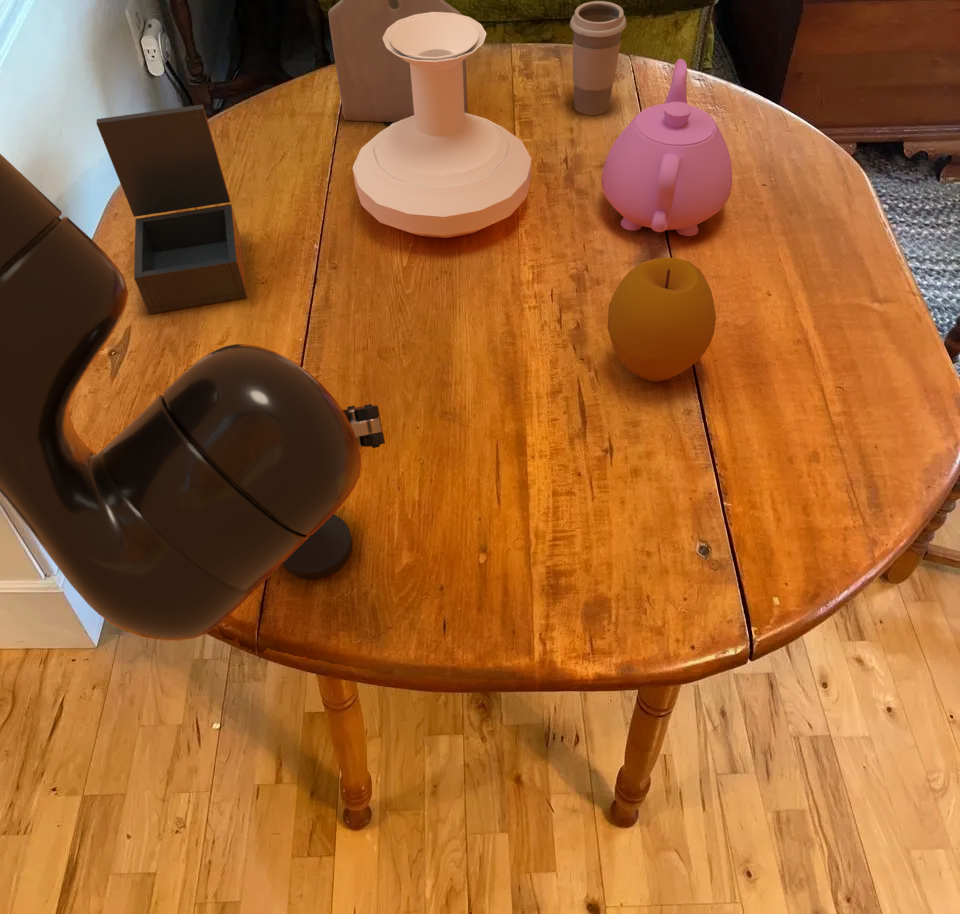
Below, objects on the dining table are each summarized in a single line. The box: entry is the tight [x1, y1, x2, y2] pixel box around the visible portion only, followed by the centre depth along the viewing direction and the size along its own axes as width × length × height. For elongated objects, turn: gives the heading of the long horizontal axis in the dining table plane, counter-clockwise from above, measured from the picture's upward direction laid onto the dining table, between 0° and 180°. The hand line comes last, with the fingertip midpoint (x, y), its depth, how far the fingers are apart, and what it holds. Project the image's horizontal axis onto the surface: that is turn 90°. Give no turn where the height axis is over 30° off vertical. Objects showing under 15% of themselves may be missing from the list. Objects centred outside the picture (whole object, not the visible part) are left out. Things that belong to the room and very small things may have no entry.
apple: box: [607, 257, 717, 383], centre depth 79 cm, size 10×10×12 cm
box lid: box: [96, 104, 231, 218], centre depth 89 cm, size 11×10×1 cm
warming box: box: [133, 203, 248, 315], centre depth 92 cm, size 10×10×5 cm
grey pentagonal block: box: [327, 0, 469, 124], centre depth 107 cm, size 16×8×19 cm, turn 83°
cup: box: [569, 0, 627, 116], centre depth 109 cm, size 7×7×12 cm
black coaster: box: [281, 513, 353, 580], centre depth 71 cm, size 6×6×1 cm
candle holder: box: [351, 12, 533, 239], centre depth 94 cm, size 20×20×19 cm
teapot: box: [600, 58, 733, 237], centre depth 95 cm, size 20×14×12 cm
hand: (285, 436), depth 63 cm, fingers closed on sauce bottle, 5 cm apart
